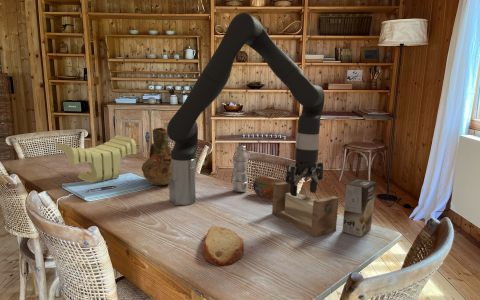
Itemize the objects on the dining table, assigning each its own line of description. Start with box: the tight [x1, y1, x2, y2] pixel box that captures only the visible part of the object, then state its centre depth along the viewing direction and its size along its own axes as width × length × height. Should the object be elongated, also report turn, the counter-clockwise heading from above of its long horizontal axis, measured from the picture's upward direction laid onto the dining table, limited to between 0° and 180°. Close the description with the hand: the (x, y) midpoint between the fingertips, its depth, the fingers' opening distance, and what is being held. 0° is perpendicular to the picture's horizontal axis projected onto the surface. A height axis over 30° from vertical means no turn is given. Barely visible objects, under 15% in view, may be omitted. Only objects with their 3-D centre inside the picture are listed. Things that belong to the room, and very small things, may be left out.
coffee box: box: [342, 178, 377, 238], centre depth 117 cm, size 9×6×16 cm
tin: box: [253, 175, 285, 200], centre depth 148 cm, size 15×3×8 cm, turn 56°
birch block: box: [285, 192, 314, 226], centre depth 123 cm, size 4×14×7 cm, turn 32°
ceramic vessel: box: [141, 127, 172, 186], centre depth 160 cm, size 17×26×25 cm, turn 32°
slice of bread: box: [202, 226, 245, 268], centre depth 104 cm, size 18×18×4 cm
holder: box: [271, 181, 340, 237], centre depth 123 cm, size 9×23×11 cm, turn 33°
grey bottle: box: [231, 144, 249, 193], centre depth 153 cm, size 6×7×20 cm
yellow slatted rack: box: [55, 134, 137, 184], centre depth 168 cm, size 30×16×18 cm, turn 140°
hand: (303, 193), depth 122 cm, fingers open, 8 cm apart
